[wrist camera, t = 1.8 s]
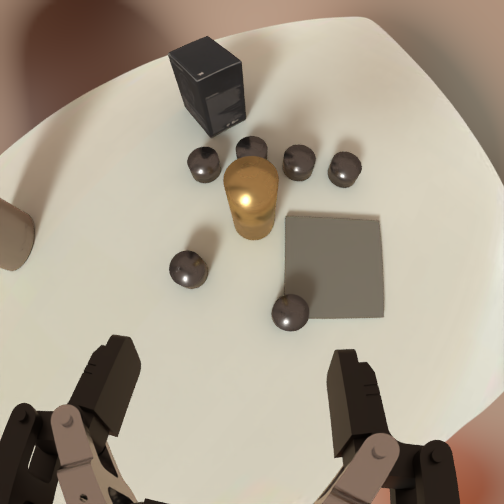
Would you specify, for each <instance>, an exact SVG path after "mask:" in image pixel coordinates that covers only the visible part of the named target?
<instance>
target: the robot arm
mask: <svg viewBox="0 0 504 504" xmlns="http://www.w3.org/2000/svg"><path fill="white" fill-rule="evenodd" d="M33 240H34V224H33V221H32V219H31V217H30V216H29V215H28V214H27V213H25V212H23V211H22V210H20V209H18V208H16V207H15V206H13V205H11V204H10V203H8V202H6V201H5V200H3V199H1V198H0V268H3V269H6V270H9V271H14V270H17V269H18V268H20V267H21V266H22V265H23V264H24V262H25V261H26V260H27V258H28V256H29V254H30V251H31V249H32V245H33ZM140 370H141V361H140V358H139V356H138V353H137V351H136V349H135V346H134V344H133V341H132V339H131V338H130V337H127V336H120V335H112V336H111V337H110V338H109V340H108V342H107V344H106V346H104V345H101V346H100V347H99V348H98V349H97V350H96V351H95V352H94V353H93V354H92V356H91V358H90V360H89V362H88V365H87V366H86V368H85V370H84V373H83V374H82V376H81V378H80V380H79V382H78V384H77V386H76V388H75V390H74V392H73V394H72V396H71V399H70V401H69V402H68V404H66V405H61V406H59V407H58V408H56V409H55V410H54V411H36V410H35V409H34V408H33V407H32V406H31V405H30V404H27V403H21V404H19V405H17V406H16V407H15V408H14V409H13V411H12V413H11V415H10V418H9V420H8V423H7V425H6V427H5V430H4V432H3V435H2V438H1V440H0V504H53V500H54V495H55V491H56V487H57V483H58V480H59V483H60V486H61V489H62V492H63V495H64V498H65V501H66V504H167V503H163V502H158V501H154V500H150V499H146V498H145V501H144V502H138V501H137V500H136V498H135V496H134V494H133V492H132V490H131V489H130V488H129V486H128V485H127V484H126V482H125V481H124V480H123V478H122V476H121V474H120V471H119V469H118V467H117V464H116V462H115V460H114V457H113V455H112V452H111V450H110V447H109V445H108V442H107V438H108V435H112V436H115V437H118V434H119V431H120V428H121V425H122V422H123V419H124V417H125V414H126V411H127V408H128V405H129V402H130V399H131V396H132V394H133V391H134V388H135V385H136V383H137V380H138V377H139V374H140ZM377 384H378V383H377V379H376V376H375V372H374V371H373V369H372V368H371V367H370V365H369V364H368V363H367V362H358V358H357V354H356V351H355V350H354V349H344V350H335V351H334V354H333V357H332V360H331V364H330V367H329V370H328V373H327V392H328V400H329V409H330V418H331V427H332V437H333V448H334V458H338V457H343V466H342V467H341V469H340V470H339V472H338V473H337V474H336V476H335V477H334V478H333V480H332V481H331V482H330V484H329V485H328V486H327V488H326V489H325V490H324V491H323V493H322V494H321V495H320V496H319V498H318V499H317V500H316V501H315V502H314V503H313V504H371V503H372V501H373V499H374V498H375V496H376V494H377V493H378V491H379V490H380V488H390V501H391V504H460V499H459V491H458V484H457V477H456V471H455V466H454V460H453V455H452V451H451V449H450V447H449V445H448V444H447V443H445V442H443V441H441V440H433V441H430V442H428V443H427V444H426V445H424V446H422V445H412V444H405V443H401V442H399V441H397V440H396V439H395V438H393V436H392V435H391V434H390V432H389V430H388V426H387V422H386V417H385V413H384V408H383V404H382V400H381V395H380V391H379V387H378V386H377ZM34 446H36V447H35V450H34V453H33V456H32V459H31V462H30V466H29V469H28V464H29V461H30V458H31V455H32V452H33V449H34Z"/></svg>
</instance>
